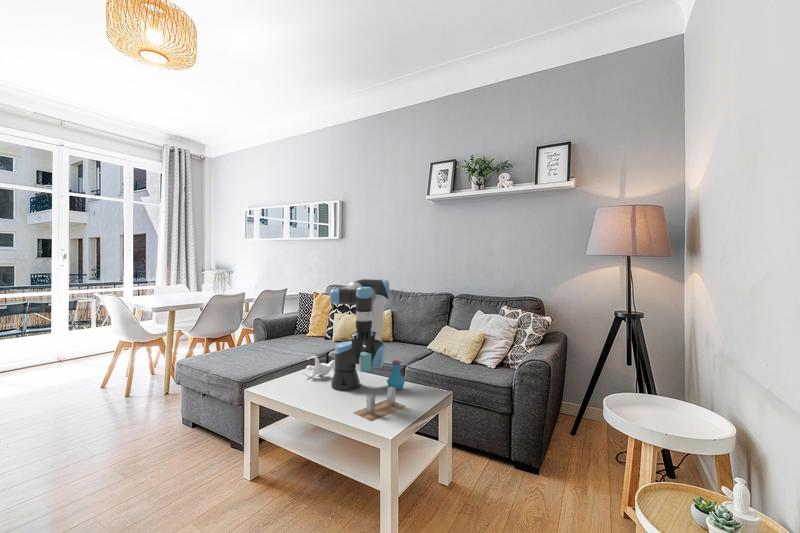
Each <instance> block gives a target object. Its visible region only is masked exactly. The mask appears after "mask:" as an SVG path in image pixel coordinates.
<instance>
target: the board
mask: <svg viewBox="0 0 800 533" xmlns="http://www.w3.org/2000/svg"><path fill="white" fill-rule="evenodd" d="M406 407H407V405H405V404H402V403H399V402H396V401H395V405H394V406H392V407H391V406H389V405H387V399H385V400H382V401H379V402H378V403H375V414H372V415H369V414H367V413H366V409H367V406H365V408H362V409H359V410H357V411H354V412H353V414H355V415H357V416H359V417H361V418H363V419H366V420H367V421H370V422H374V421H376V420H378V419H381V418H383V417H385V416H388V415H390V414H392V413H394V412H397V411H399V410H401V409H404V408H406Z"/></svg>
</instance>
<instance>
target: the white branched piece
mask: <svg viewBox="0 0 800 533" xmlns="http://www.w3.org/2000/svg"><path fill="white" fill-rule="evenodd" d="M310 359H311V360H312V359H314V364H315V365H314V366H313V365H307V366H306V370H307V371H313V372H312V373H311V374H308V373H306V372H305V371H303V372H302V375H304V376H306V377H307V378H309V379H312V378H314V377H316V376H317V375H320V376H324V375H329V373H330V371H331V370H333V374H334V373H335V359H333V360H331V361H329V363H328V364H325V363H320V359H319V357H318V356H317V355H313V356H312V355H311V356H310V357H307V358H306V360H307V361H309V360H310Z"/></svg>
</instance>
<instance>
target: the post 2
mask: <svg viewBox="0 0 800 533" xmlns="http://www.w3.org/2000/svg"><path fill="white" fill-rule="evenodd" d="M396 391H397V390H396V388H394V387H392V386H391V387H389V386H388V387H387V395H386V396H387V398H386V400H387V405H389V406H391V407H392V406H394V405H395V402H396Z"/></svg>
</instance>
